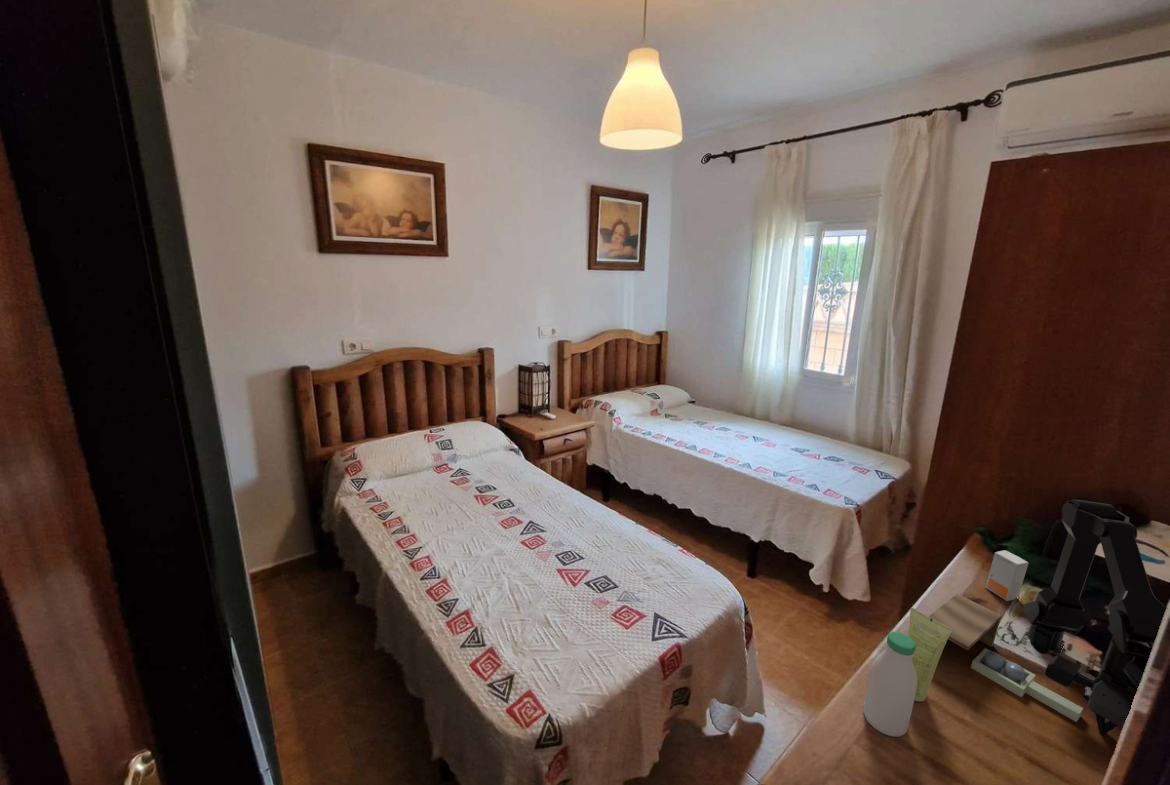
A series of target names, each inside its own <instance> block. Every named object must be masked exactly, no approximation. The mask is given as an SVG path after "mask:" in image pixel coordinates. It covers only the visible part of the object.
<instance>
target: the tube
mask: <svg viewBox="0 0 1170 785" xmlns="http://www.w3.org/2000/svg"><path fill="white" fill-rule="evenodd" d="M909 615H910V616H909V627H908V633H907V634H908V635H907V636H909V637H910V638H911V639H912V640H913V641H914V642H915V645H916V649H915V652H914V656H913V657H912V662H913V666H914V668H915V671H916V675H917V689H916V694H915V699H914V702H924V701H926V700H927V697H928V693H929V690H930V687H931V685H932V680H933V679H934V678H933V677H934V675H935V672H936V669H937V666H938V664H939V661H940V660H941V659H940V658H941V656H942V653H943V651H944V648H945V646H946V645H947V642H948V638H949V636H950V634H951V633H952V630H953V629H951V628H949V627H947V626H945V625H944V624H942V623H940V622H938V621H936V620H934V619H932V618H930V617H929V616H930V615H927V614H925V613H922V612H921V611H920V610H917V609H915V608H914V607H910V612H909Z"/></svg>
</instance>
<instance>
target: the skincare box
mask: <svg viewBox="0 0 1170 785" xmlns="http://www.w3.org/2000/svg"><path fill="white" fill-rule="evenodd" d="M1028 567H1029V562H1028V561H1026V559H1023V558H1021V557H1020V556H1018V555H1016V554H1014V553H1011V552H1010V551H1008V550H1006V549H1005V550H999V551H996V552H994V555H993V558H992V562H991V566H990V570H989V572H988V575H987V576H988V577H987V581H986V584H985V589H987V590H989V591H990V592H992V593H993V594H995V595H997V596H999V597H1000V598H1001V599H1003V600H1005V601H1006V602H1010V601H1015V600H1016V599H1015V598H1017V597H1018V598H1019V596H1020V592H1021V589H1022V585H1023V582H1024V579H1025V576H1026V572H1027V569H1028ZM1014 599H1015V600H1014Z"/></svg>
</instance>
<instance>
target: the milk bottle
mask: <svg viewBox="0 0 1170 785" xmlns="http://www.w3.org/2000/svg"><path fill="white" fill-rule="evenodd" d="M885 645H886V648H885V649H884V650H883V651H882V652H881V653H879V654H878V655H877V657H876V658H875V659H874V661H873V664H872V666H871V669H870V672H869V673H870V674H869V679H868V683H867V688H866V692H865V698H864V704H863V709H862V710H863V714H864V716H865V718H866V720H867V722H868V723H869V724H870V725H871V726H872V727H873V728H874V729H875V730H877V731H878V732H880V733H882V734H883V735H886V736H889V737H895V738H898V737H902V736H904V735H905V734H906V733H907V731H908V729H909V728H908V727H909V724H910V720H911V716H912V711H913V708H914V702H915V700H914V699H915V694H916V689H917V675H916V671H915V668H914V666H913V662H912V657H913V656H914V652H915V649H916V645H915V642H914V641H913V640H912V639H911V638H910V637H909V636H908V635H907V634H906V633H902V632H899V631H891V632H889V633H888V634H887V637H886V642H885Z"/></svg>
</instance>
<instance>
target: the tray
mask: <svg viewBox="0 0 1170 785" xmlns="http://www.w3.org/2000/svg"><path fill="white" fill-rule="evenodd" d="M988 651H991V650H990V649H988V648H987V647H986V648H984V649H983V650H982V651H981V652H980V653H979V654H978V655H977V656H976V657H975V658H974V659H972V661H971V662H972V663H971V666H970V669H972V670H974V671H976V672H977V673H979V674H981V675H983V677H986V678H987V679H990V681H992V682H994V683H995V684H998V685H1000V686H1001V687H1002V688H1005V689H1006V690H1008V691H1010V692H1011V693H1013V694H1015V695H1017V696H1018V697H1020V698H1023V697H1024V695H1025V694H1027V695H1028V696H1031V697H1032V698H1034V699H1036V700H1037V701H1039V702H1040V703H1042V704H1045V705H1046V706H1047V707H1050V708H1051V709H1053V710H1054V711H1056V712H1058V713H1059V714H1061V715H1062V716H1065V717H1067V718H1069V719H1070V720H1072V721H1074V722H1076V723H1078V720H1079V719H1080V718H1081V717H1082V713H1083V710H1084V708H1083V707H1082V706H1080V705H1078V704H1076V703H1074V702H1072V701H1071V700H1069V699H1067V698H1065V697H1063V696H1061V695H1059V694H1058V693H1056V692H1054V691H1052V690H1050V689H1049V688H1046V687H1045V686H1043V685H1041V684H1039V683H1037V682H1035V679H1036V674H1035V673H1034V672H1033V673H1032V672H1031V671H1029V670H1027V669H1026V668H1024V667H1022V668H1023V669H1024V670H1025V672H1024V676H1023V679H1022V683H1021V685H1019V684H1017V683H1016V682H1014V681H1012V680H1010V679H1008V678H1007V677H1005V676H1003V675H1004V671H1005V667H1006V664H1007V662H1012V661H1010V659H1007V658H1005V657H1003V659H1004V662H1003V665H1002V669H1001V673H998V672H996V671H994V670H992V669H991V668H989V667H987V666H985V665H984V661H985V657H986V653H987V652H988Z"/></svg>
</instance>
